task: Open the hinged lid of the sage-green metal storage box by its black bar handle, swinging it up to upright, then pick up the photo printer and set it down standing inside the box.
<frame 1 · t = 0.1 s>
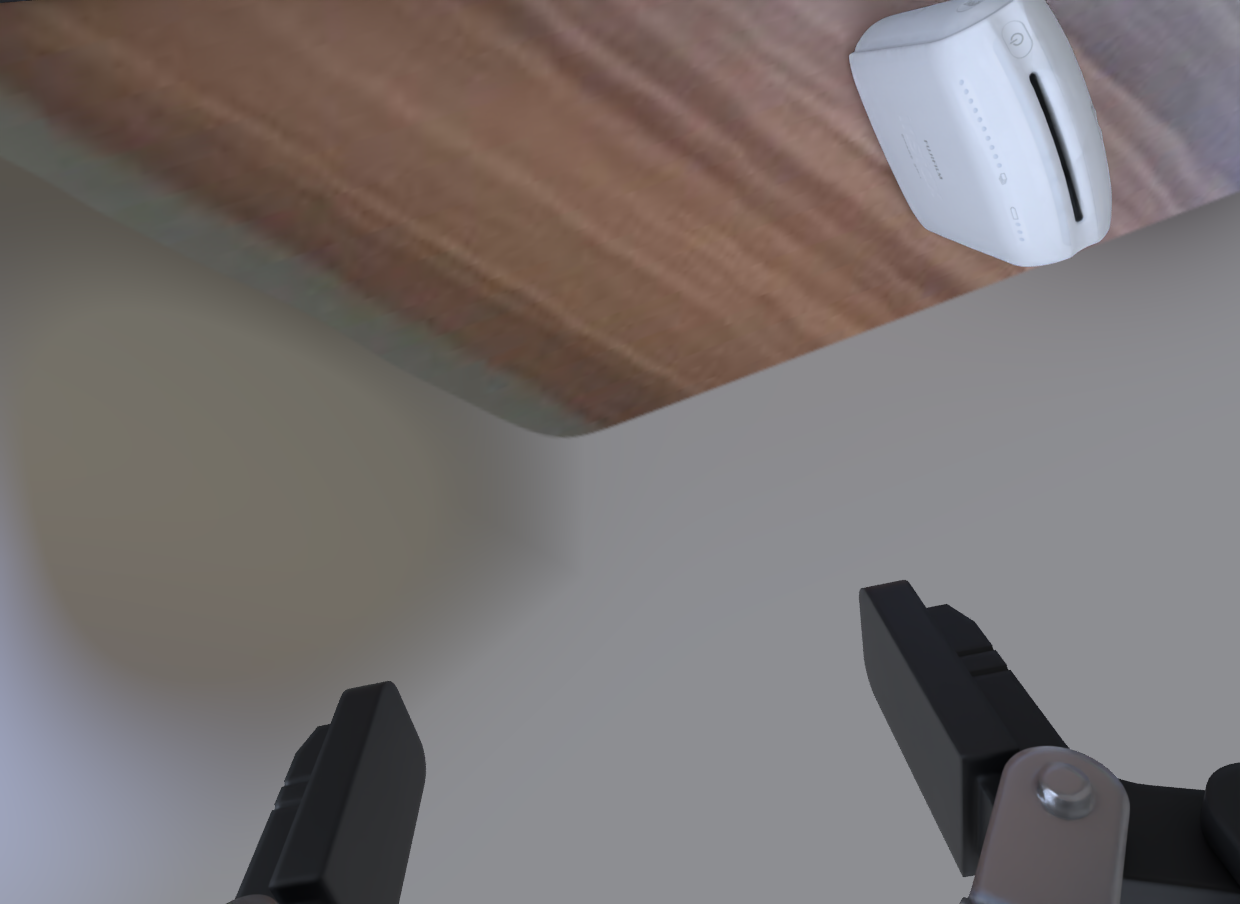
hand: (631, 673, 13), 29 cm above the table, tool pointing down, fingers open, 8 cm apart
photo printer: (913, 123, 37), on the table
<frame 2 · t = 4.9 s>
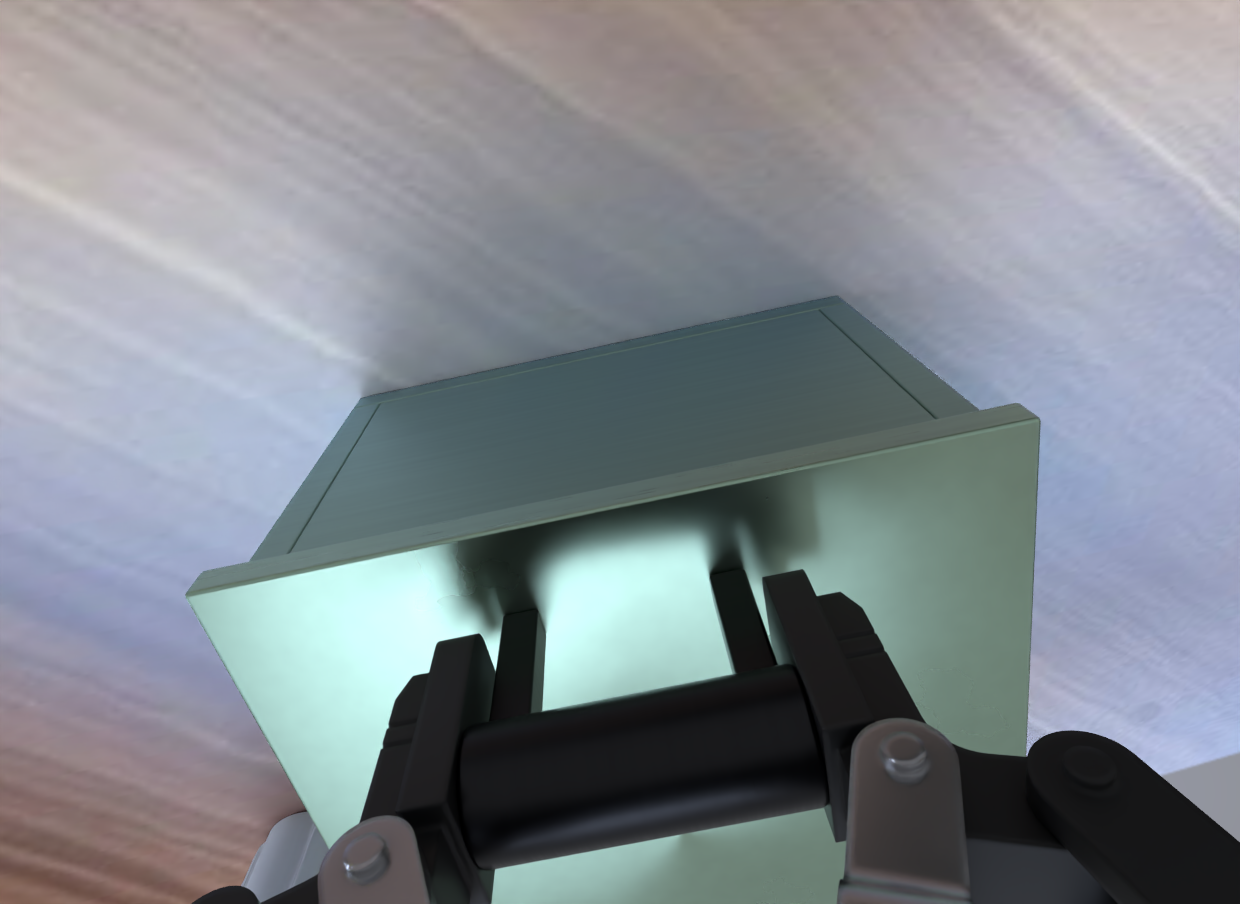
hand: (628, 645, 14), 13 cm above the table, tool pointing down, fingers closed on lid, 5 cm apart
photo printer: (362, 872, 35), on the table
box: (644, 559, 28), on the table
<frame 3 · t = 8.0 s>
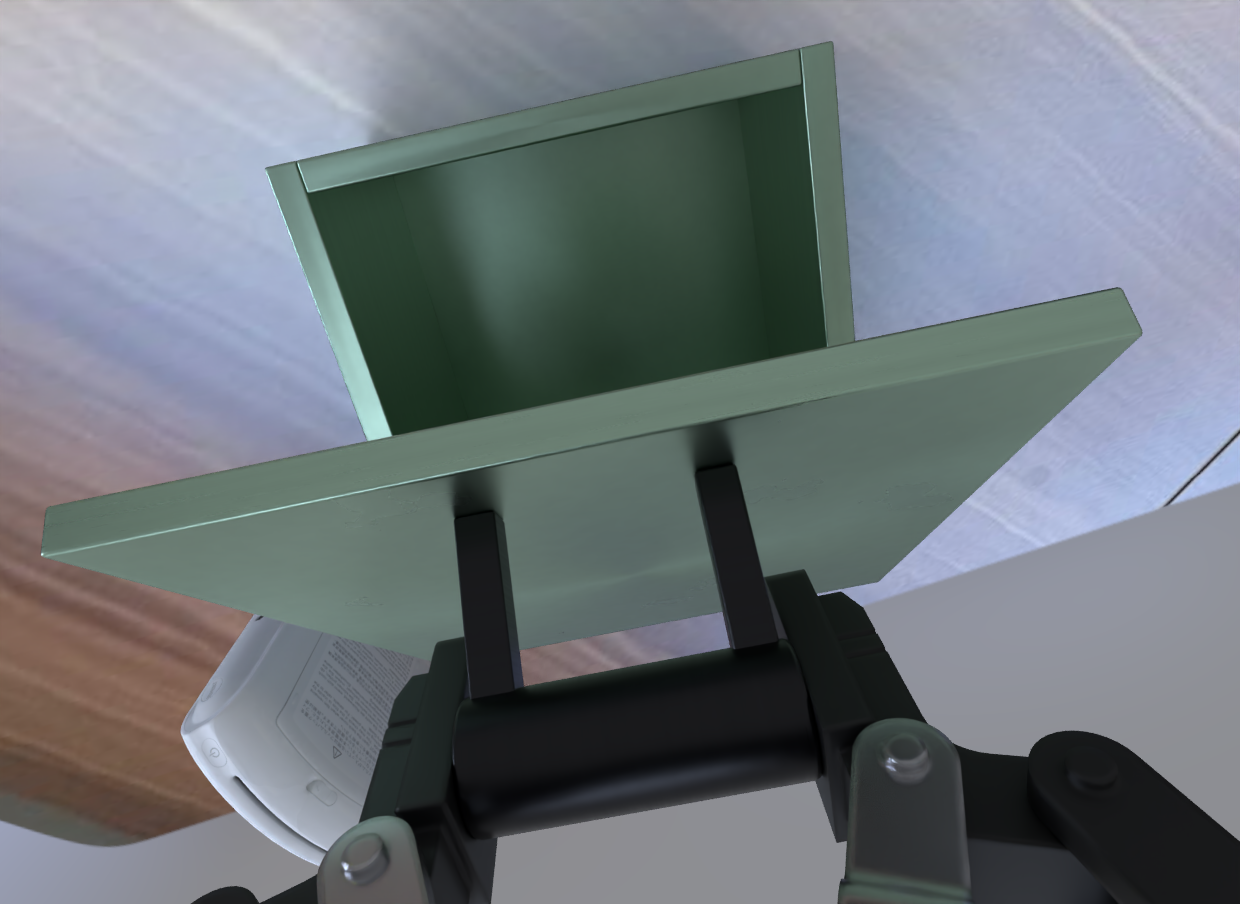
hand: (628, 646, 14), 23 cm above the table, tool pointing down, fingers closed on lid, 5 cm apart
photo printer: (362, 621, 41), on the table
lid: (648, 657, 18), point 19 cm above the table, hinge at 44.1°, touching gripper
box: (600, 307, 34), on the table
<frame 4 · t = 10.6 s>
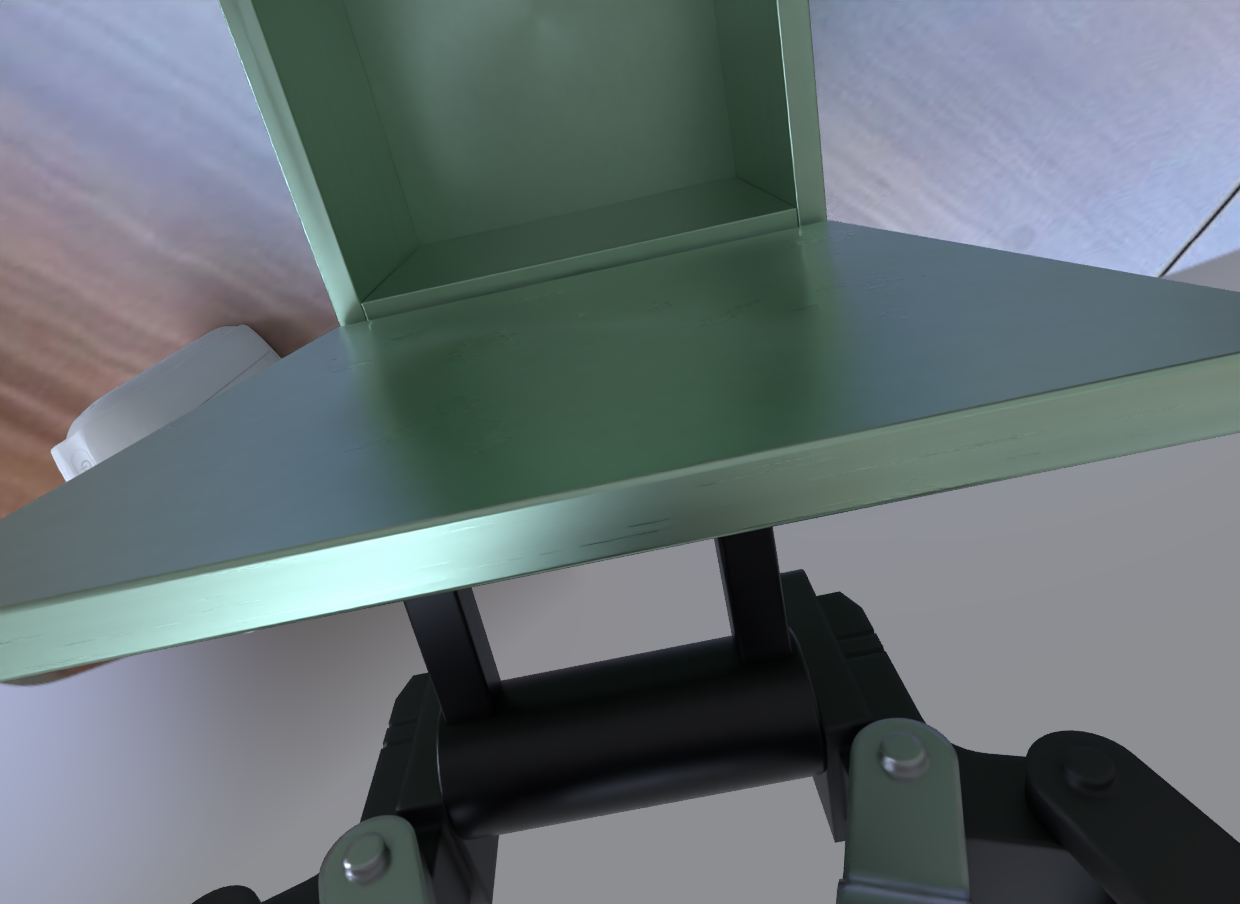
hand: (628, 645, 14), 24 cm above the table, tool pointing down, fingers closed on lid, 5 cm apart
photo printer: (287, 413, 37), on the table
lid: (600, 453, 16), point 20 cm above the table, hinge at 84.5°, touching gripper
box: (534, 17, 30), on the table
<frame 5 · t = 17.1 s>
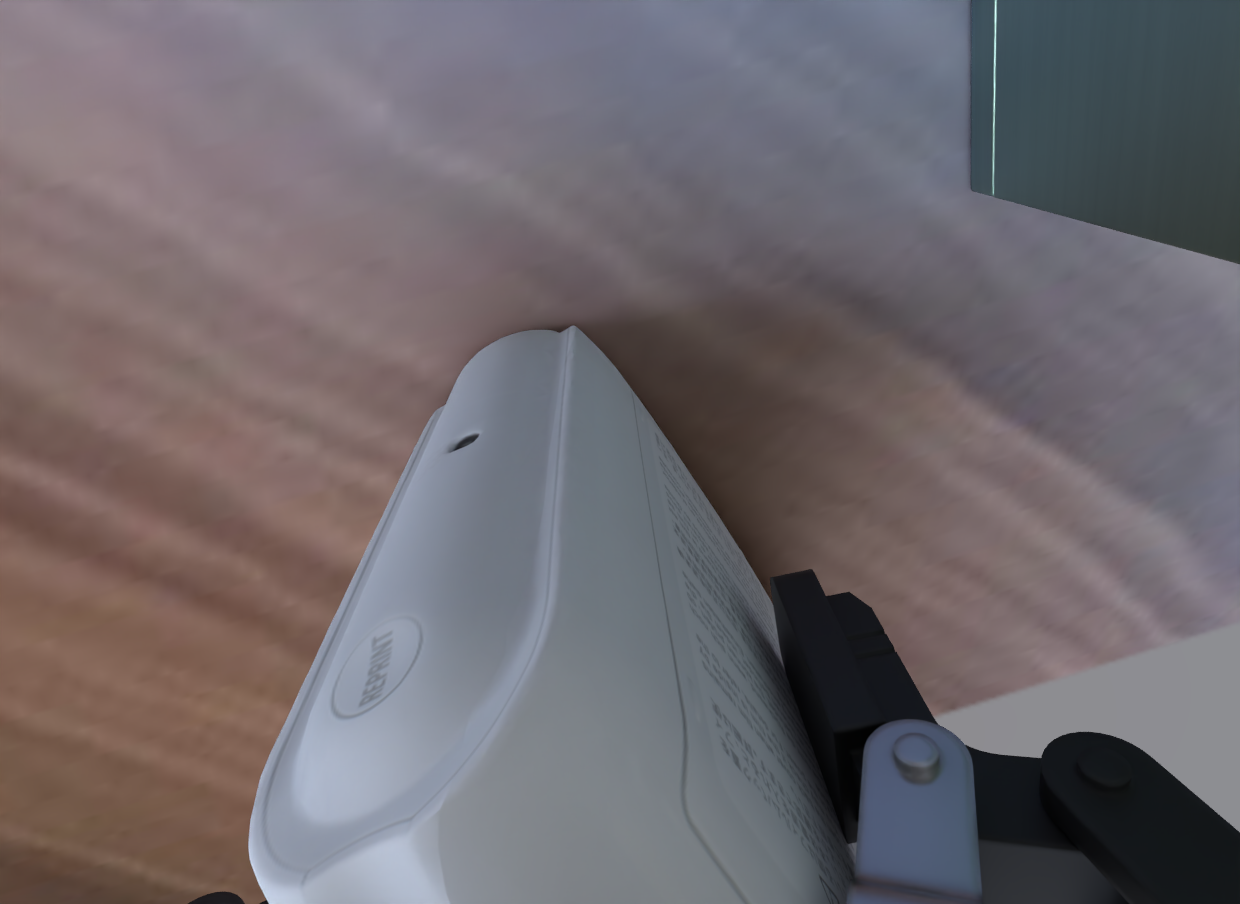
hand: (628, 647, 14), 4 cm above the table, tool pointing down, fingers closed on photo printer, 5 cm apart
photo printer: (618, 513, 18), on the table, touching gripper
when the fingers open (5 cm above the table, at t = 26.2 s): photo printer stays where it is, resting on box.
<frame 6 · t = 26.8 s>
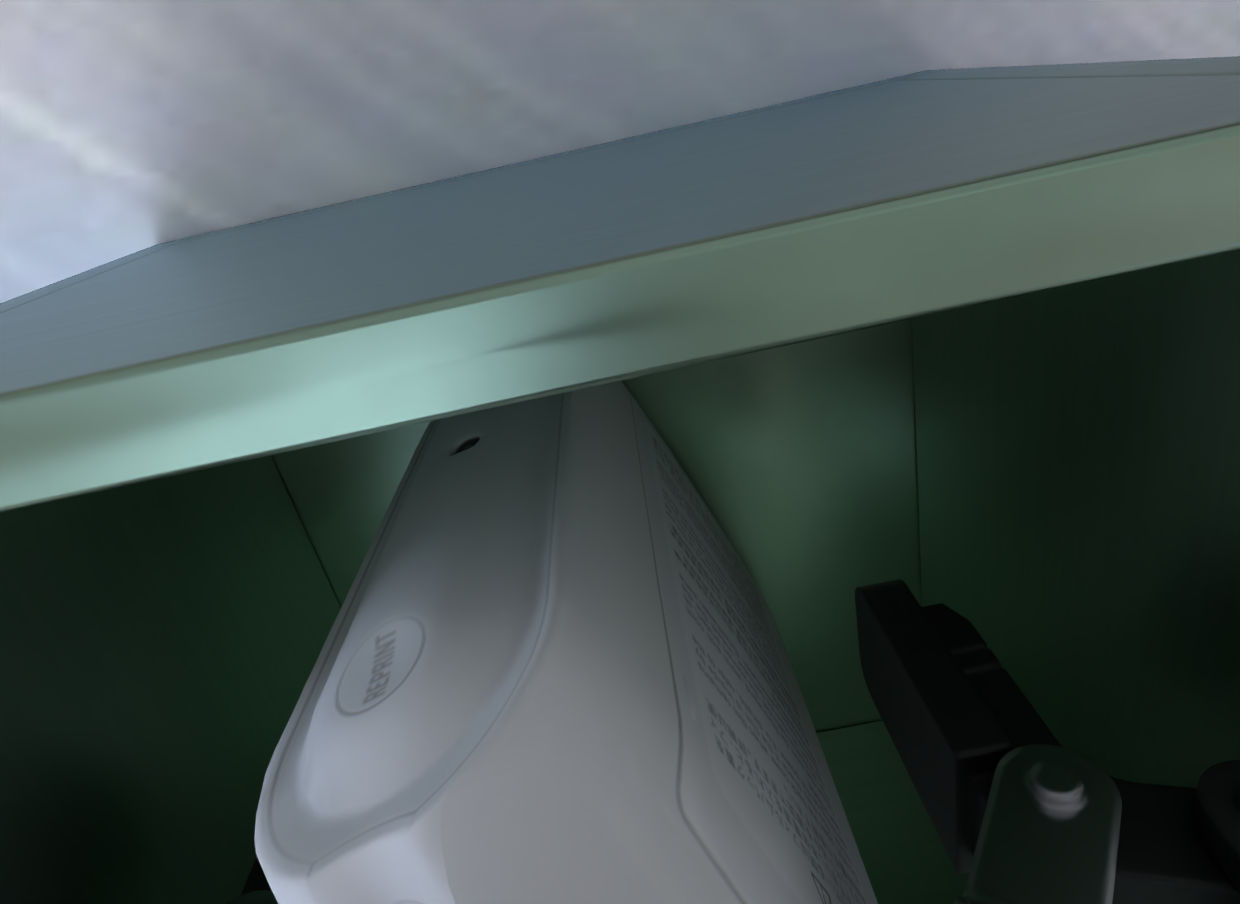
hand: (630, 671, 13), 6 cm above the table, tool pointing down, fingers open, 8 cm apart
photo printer: (616, 515, 18), point 1 cm above the table, touching box
box: (619, 515, 19), on the table
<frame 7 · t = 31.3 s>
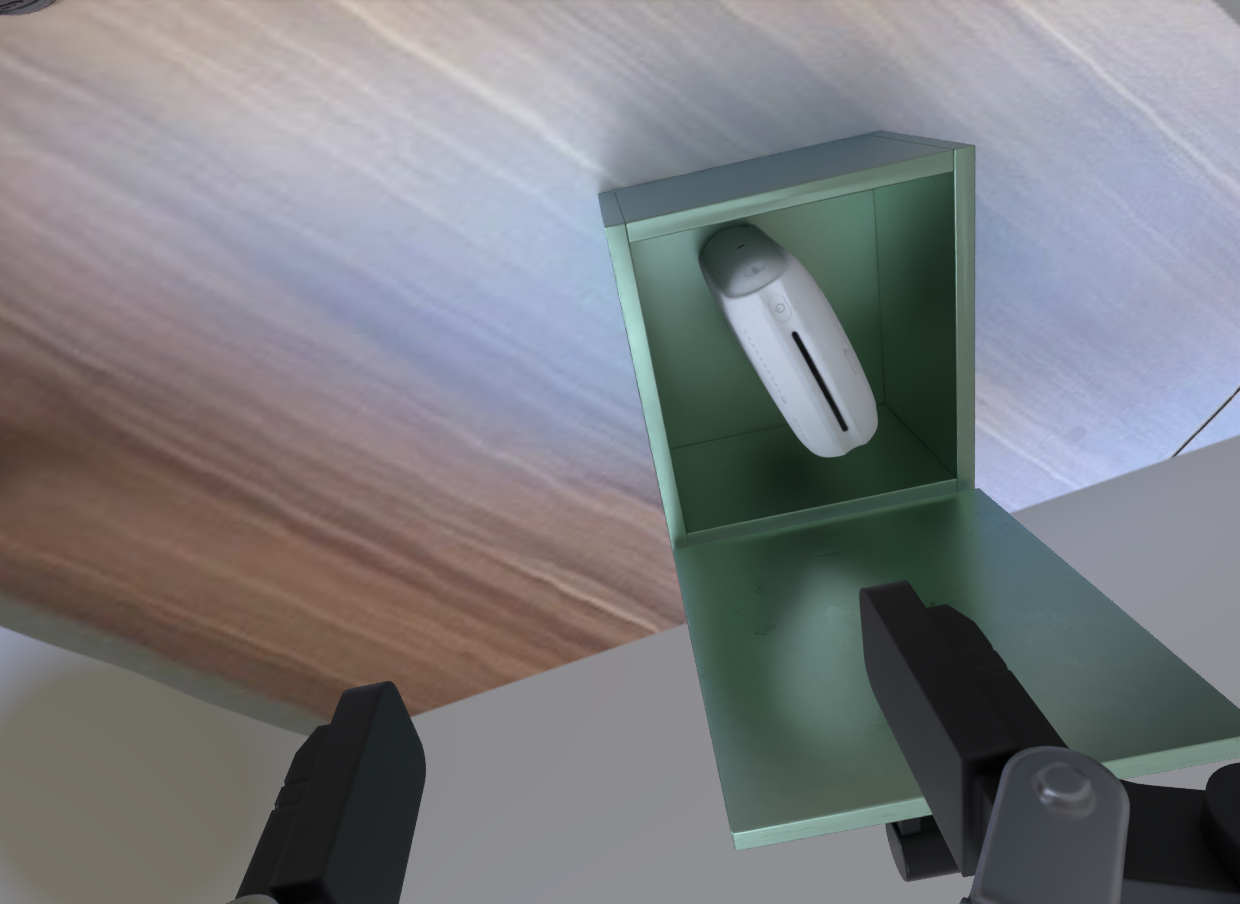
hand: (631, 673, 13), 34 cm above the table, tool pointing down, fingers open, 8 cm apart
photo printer: (758, 305, 45), point 1 cm above the table, touching box
lid: (892, 671, 32), point 20 cm above the table, hinge at 85.1°
box: (757, 309, 45), on the table
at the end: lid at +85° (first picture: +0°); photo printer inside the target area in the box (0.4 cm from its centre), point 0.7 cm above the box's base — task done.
